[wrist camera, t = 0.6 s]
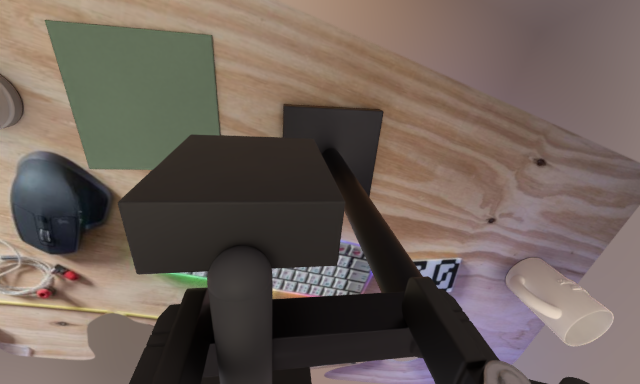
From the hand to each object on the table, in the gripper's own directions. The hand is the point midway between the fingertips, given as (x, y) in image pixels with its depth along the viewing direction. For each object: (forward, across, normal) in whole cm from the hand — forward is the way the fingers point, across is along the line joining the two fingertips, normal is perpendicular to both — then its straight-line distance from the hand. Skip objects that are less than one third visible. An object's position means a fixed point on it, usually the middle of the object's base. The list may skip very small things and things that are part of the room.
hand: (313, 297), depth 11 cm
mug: (+26, -43, +25) cm, 56 cm away
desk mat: (+26, +16, -2) cm, 31 cm away
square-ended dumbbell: (+6, +3, +2) cm, 7 cm away
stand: (+26, -3, +3) cm, 26 cm away
